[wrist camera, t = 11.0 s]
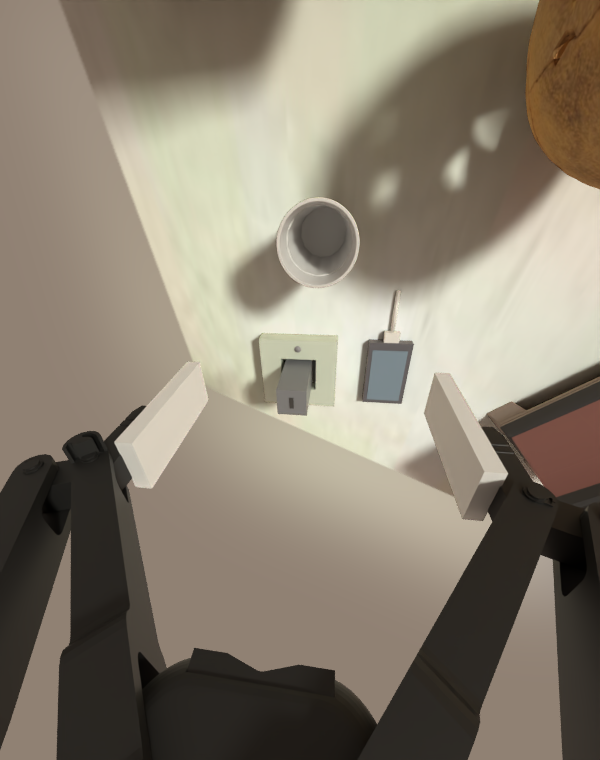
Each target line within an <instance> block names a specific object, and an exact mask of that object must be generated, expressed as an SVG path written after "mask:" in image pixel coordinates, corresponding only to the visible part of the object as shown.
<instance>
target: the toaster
mask: <svg viewBox="0 0 600 760" xmlns="http://www.w3.org/2000/svg"><path fill="white" fill-rule="evenodd" d="M487 415H488V416H489V418H490V419H491V420H492V421H493V423H494V424H495V425H496V426H497V428H498V429H499V430H500V431H501V432H502V433H503V434H504V435H506V436H507V438H508V439H509V440H510V441H511V443H512V444H513V445H514V447H515V448H516V449H517V450H518V452H519V453H520V454H521V456H522V457H523V458H524V459H525V460H524V461H525V463H526V464H527V465H528V466H529V468H530V469H531V470H532V471H533V473H534V474H535V475H536V476H537V477H538V478H539V480H540V481H541V483H542V484H543V486H544V487H545V488H547V489H548V490H550V491H551V492H552V493H553V494H554V495H555V497H556V498H557V500H559V501H561V502H564V503H567V504H570V505H574V506H577V507H580V508H583V509H586V508H587V507H588V505H590V504H591V503H593V502H600V377H597V378H595V379H593V380H591V381H589V382H587V383H584V384H582V385H580V386H578V387H576V388H574V389H572V390H569V391H567V392H565V393H563V394H561V395H559V396H556V397H554V398H552V399H550V400H548V401H546V402H544V403H541V404H539V405H537V406H535V407H533V408H531V409H528V410H525V409H523V408H522V407H520V406H519V405H517V404H515V403H514V402H512V401H511V402H509V403H507V404H505V405H503V406H501V407H499V408H497V409H495V410H493V411H491V412H489V413H487Z"/></svg>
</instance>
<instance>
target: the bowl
mask: <svg viewBox="0 0 600 760" xmlns="http://www.w3.org/2000/svg"><path fill="white" fill-rule="evenodd" d="M525 93H526V108H527V116H528V120H529V124H530V127H531V130H532V133H533V136H534V138H535V140H536V141H537V143H538V145H539V146H540V148H541V149H542V151H543V152H544V153H545V154H546V156H547V157H548V158H549V159H550V160H551V161H552V162H553V163H554V164H555V165H556V166H557V167H558V168H560V169H561V170H562V171H563V172H565V173H566V174H567V175H569V176H571V177H573V178H575V179H577V180H579V181H580V182H582V183H584V184H587V185H589V186H592V187H595V188H598V189H600V0H539V3H538V7H537V12H536V16H535V20H534V24H533V28H532V32H531V36H530V41H529V47H528V55H527V76H526V92H525Z"/></svg>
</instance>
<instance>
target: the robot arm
mask: <svg viewBox="0 0 600 760" xmlns="http://www.w3.org/2000/svg"><path fill="white" fill-rule="evenodd" d="M207 402H208V395H207V391H206V387H205V382H204V378H203V374H202V369H201V365H200V362H187V363H186V364H185V365H184V366H183V367H182V368H181V369H180V370H179V371H178V373H177V374H176V375H175V376H174V377H173V378H172V379H171V380H170V381H169V382H168V384H167V385H166V386H165V387H164V388H163V389H162V390H161V391H160V392H159V393H158V394H157V396H156V397H155V398H154V399H153V400H152V401H151V402H150V403H149V404H148V405H147V406H141V407H139V408H138V409H136V410H134V411H133V412H131V414H130V415H129V416H128V417H127V418H126V419H125V421H123V422H122V423H121V424H120V426H118V427H117V428H116V430H114V431H113V432H112V433H111V435H110V436H109V437H108V438H107V439H106V440H105V441H103V439H102V437H101V435H100V434H99V433H98V432H96V431H87V432H83V433H80V434H78V435H76V436H74V437H72V438H71V439H69V440H68V441H67V442H66V443H65V444H64V445H63V448H62V450H63V451H64V453H65V455H66V456H67V458H68V459H69V460H67V461H61V462H55V461H54V459H53V458H52V457H51V456H50V455H46V454H44V455H38V456H35V457H32V458H29V459H27V460H25V461H24V462H22V463H21V464H20V465H18V466H17V467H16V468H15V470H14V471H13V472H12V474H11V476H10V477H9V479H8V481H7V482H6V484H5V486H4V488H3V489H2V491H1V493H0V749H1V746H2V743H3V740H4V737H5V735H6V732H7V729H8V726H9V723H10V720H11V717H12V714H13V711H14V708H15V705H16V702H17V699H18V695H19V692H20V689H21V686H22V683H23V679H24V676H25V673H26V670H27V667H28V664H29V660H30V657H31V654H32V651H33V648H34V644H35V641H36V638H37V635H38V632H39V629H40V626H41V622H42V619H43V616H44V613H45V610H46V607H47V603H48V600H49V597H50V594H51V591H52V588H53V584H54V581H55V578H56V575H57V572H58V568H59V565H60V562H61V559H62V556H63V553H64V550H65V546H66V543H67V540H68V537H69V534H70V531H71V637H70V643H69V646H67V647H66V648H65V649H64V650H63V651H62V654H61V657H60V665H59V693H58V729H57V760H468V757H469V754H470V752H471V749H472V746H473V744H474V741H475V738H476V735H477V732H478V728H479V724H480V715H479V714H480V710H481V707H482V704H483V701H484V699H485V696H486V694H487V691H488V688H489V686H490V683H491V681H492V678H493V676H494V673H495V670H496V668H497V665H498V663H499V660H500V658H501V655H502V652H503V650H504V647H505V645H506V642H507V640H508V637H509V634H510V632H511V629H512V627H513V624H514V621H515V619H516V616H517V614H518V611H519V609H520V606H521V603H522V601H523V598H524V596H525V593H526V591H527V588H528V586H529V583H530V580H531V578H532V575H533V573H534V570H535V568H536V565H537V562H538V560H539V557H540V555H543V556H545V557H548V558H551V559H553V573H554V593H555V613H556V633H557V654H558V674H559V694H560V715H561V733H562V754H563V760H600V502H593V503H591V504H590V505H588V507H587V508H586V509H583V508H580V507H577V506H574V505H570V504H567V503H564V502H561V501H559V500H557V498H556V497H555V495H554V494H553V493H552V492H551V491H550V490H548V489H547V488H545V487H544V486H542V485H541V484H538V483H535V482H533V481H532V479H531V478H530V476H529V475H528V473H527V472H526V470H525V469H524V467H523V465H522V464H521V462H520V461H519V459H518V458H517V456H516V455H515V454H514V452H513V450H512V449H511V447H509V444H508V442H507V441H506V439H505V438H504V436H503V435H502V434H500V433H499V432H498V431H497V430H496V429H494V428H493V427H481V426H480V424H479V423H478V421H477V419H476V417H475V416H474V414H473V412H472V411H471V409H470V407H469V405H468V404H467V402H466V400H465V399H464V397H463V395H462V393H461V392H460V390H459V388H458V387H457V385H456V383H455V381H454V380H453V378H452V376H451V374H450V373H435V374H434V378H433V381H432V385H431V389H430V393H429V397H428V400H427V404H426V408H425V412H424V414H425V417H426V420H427V423H428V425H429V428H430V431H431V434H432V436H433V439H434V442H435V445H436V448H437V450H438V453H439V456H440V459H441V461H442V464H443V467H444V470H445V472H446V475H447V478H448V481H449V483H450V486H451V489H452V492H453V494H454V497H455V500H456V503H457V506H458V508H459V511H460V514H461V517H462V519H468V520H478V521H483V520H484V518H485V516H486V514H487V512H488V513H489V514H490V517H491V519H492V524H491V525H490V527H489V529H488V531H487V532H486V534H485V536H484V538H483V539H482V541H481V543H480V545H479V546H478V549H477V550H476V552H475V554H474V555H473V557H472V559H471V561H470V562H469V564H468V566H467V568H466V569H465V571H464V573H463V575H462V576H461V578H460V580H459V582H458V583H457V585H456V587H455V589H454V591H453V593H452V594H451V596H450V598H449V599H448V601H447V603H446V605H445V606H444V608H443V610H442V612H441V613H440V615H439V617H438V619H437V621H436V622H435V624H434V626H433V627H432V629H431V631H430V633H429V635H428V636H427V638H426V640H425V642H424V643H423V645H422V647H421V649H420V650H419V652H418V654H417V656H416V657H415V659H414V661H413V663H412V664H411V666H410V668H409V670H408V672H407V673H406V675H405V677H404V679H403V680H402V682H401V684H400V686H399V687H398V689H397V691H396V693H395V695H394V696H393V698H392V700H391V701H390V704H389V705H388V707H387V709H386V710H385V712H384V714H383V716H382V717H381V719H380V721H379V723H378V724H377V723H376V722H375V720H374V718H373V717H372V715H371V714H370V712H369V711H368V709H367V708H366V706H365V705H364V704H363V703H362V702H361V700H360V699H359V698H358V697H357V696H356V695H355V694H354V693H353V692H352V691H351V690H350V689H348V688H347V687H346V686H344V685H343V684H341V683H340V682H338V681H336V680H335V671H334V670H328V669H322V668H316V667H310V666H304V665H295V666H290V667H285V668H281V669H275V670H270V671H264V672H260V671H257V670H256V669H254V668H252V667H250V666H248V665H247V664H245V663H243V662H242V661H240V660H238V659H236V658H235V657H233V656H231V655H230V654H228V653H223V652H217V651H210V650H204V649H198V648H194V651H193V654H192V657H191V658H189V659H186V660H183V661H180V662H178V663H176V664H174V665H172V666H170V667H169V668H166V664H165V661H164V658H163V655H162V653H161V650H160V647H159V643H158V639H157V634H156V629H155V624H154V618H153V613H152V608H151V603H150V598H149V592H148V587H147V582H146V577H145V572H144V566H143V561H142V556H141V551H140V546H139V540H138V535H137V531H136V525H135V520H134V515H133V509H132V504H131V499H130V494H129V489H128V488H127V486H126V485H127V484H128V483H129V481H130V480H131V479H132V480H133V482H134V484H135V486H136V487H142V488H153V486H154V484H155V483H156V481H157V480H158V478H159V477H160V475H161V474H162V472H163V470H164V469H165V467H166V466H167V464H168V463H169V461H170V460H171V458H172V457H173V455H174V453H175V452H176V450H177V449H178V447H179V445H180V444H181V442H182V441H183V439H184V438H185V436H186V435H187V433H188V431H189V430H190V428H191V427H192V425H193V424H194V422H195V421H196V419H197V418H198V416H199V414H200V413H201V411H202V409H203V408H204V407H205V405H206V403H207Z"/></svg>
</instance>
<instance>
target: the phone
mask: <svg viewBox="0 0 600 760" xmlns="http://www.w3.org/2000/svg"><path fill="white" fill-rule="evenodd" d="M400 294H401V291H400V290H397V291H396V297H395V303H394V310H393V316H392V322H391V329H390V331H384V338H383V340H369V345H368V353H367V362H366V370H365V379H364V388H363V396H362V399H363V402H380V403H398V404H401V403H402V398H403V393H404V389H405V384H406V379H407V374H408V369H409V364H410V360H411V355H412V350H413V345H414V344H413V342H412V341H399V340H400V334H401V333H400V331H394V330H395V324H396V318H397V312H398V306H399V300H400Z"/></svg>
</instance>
